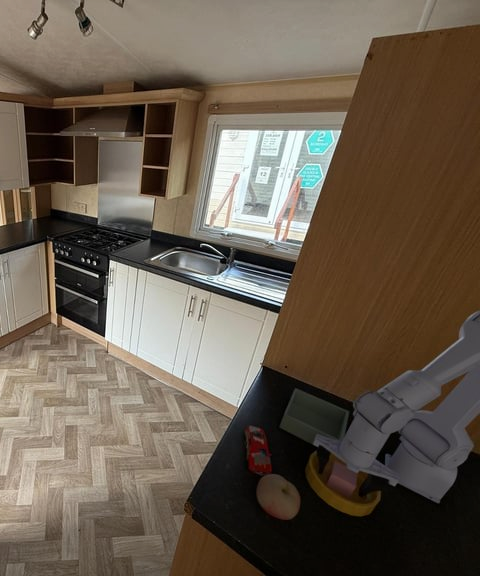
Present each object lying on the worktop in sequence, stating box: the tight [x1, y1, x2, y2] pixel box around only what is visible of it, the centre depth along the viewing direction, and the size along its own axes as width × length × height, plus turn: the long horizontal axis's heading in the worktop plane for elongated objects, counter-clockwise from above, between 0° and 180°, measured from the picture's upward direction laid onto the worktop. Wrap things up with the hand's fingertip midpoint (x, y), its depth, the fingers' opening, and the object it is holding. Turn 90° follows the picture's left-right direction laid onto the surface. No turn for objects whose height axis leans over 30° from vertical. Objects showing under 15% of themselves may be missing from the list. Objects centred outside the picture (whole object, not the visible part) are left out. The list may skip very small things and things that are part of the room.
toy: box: [326, 461, 358, 499], centre depth 72 cm, size 4×4×4 cm
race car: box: [243, 425, 273, 477], centre depth 79 cm, size 13×5×4 cm, turn 161°
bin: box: [279, 387, 350, 445], centre depth 86 cm, size 13×13×6 cm
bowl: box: [304, 450, 382, 517], centre depth 72 cm, size 13×13×4 cm
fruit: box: [256, 473, 301, 521], centre depth 67 cm, size 8×8×8 cm
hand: (340, 481), depth 72 cm, fingers open, 7 cm apart
